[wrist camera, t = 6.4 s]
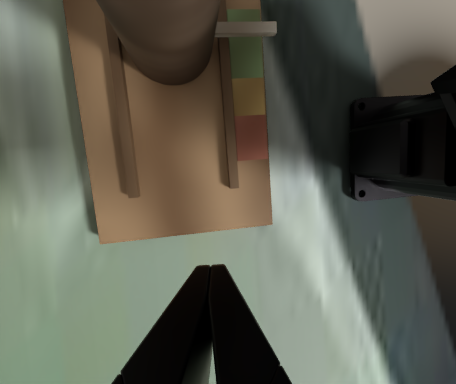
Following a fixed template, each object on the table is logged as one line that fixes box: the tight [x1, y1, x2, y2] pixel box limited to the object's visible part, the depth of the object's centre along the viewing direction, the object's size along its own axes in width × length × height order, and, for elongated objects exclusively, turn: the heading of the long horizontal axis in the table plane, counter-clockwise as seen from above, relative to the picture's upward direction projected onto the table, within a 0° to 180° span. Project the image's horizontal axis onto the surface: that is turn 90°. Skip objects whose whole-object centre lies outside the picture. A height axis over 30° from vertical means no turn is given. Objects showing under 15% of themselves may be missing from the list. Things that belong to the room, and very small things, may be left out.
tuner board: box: [63, 0, 272, 244], centre depth 14 cm, size 10×14×2 cm
